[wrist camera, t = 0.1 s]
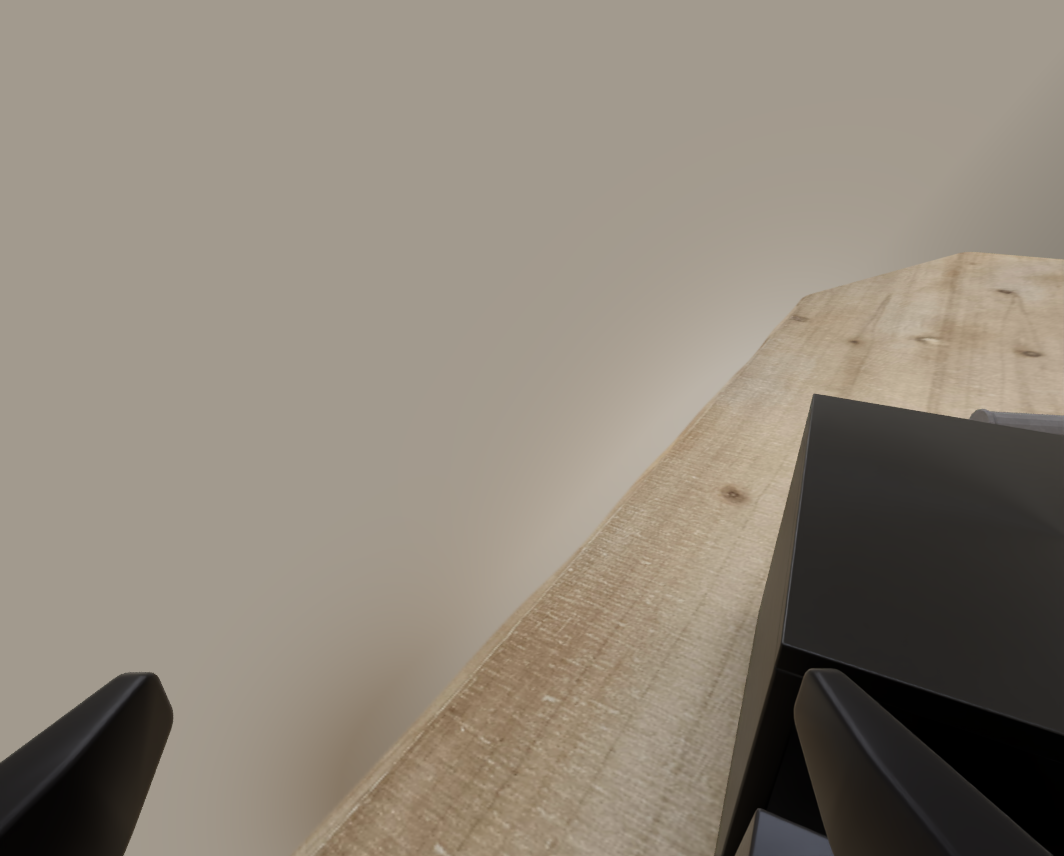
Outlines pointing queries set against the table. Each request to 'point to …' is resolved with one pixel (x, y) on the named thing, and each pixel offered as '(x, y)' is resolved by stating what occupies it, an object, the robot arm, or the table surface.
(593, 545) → the table surface
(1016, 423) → the bullet cartridge
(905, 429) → the oven
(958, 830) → the robot arm
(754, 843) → the oven door
